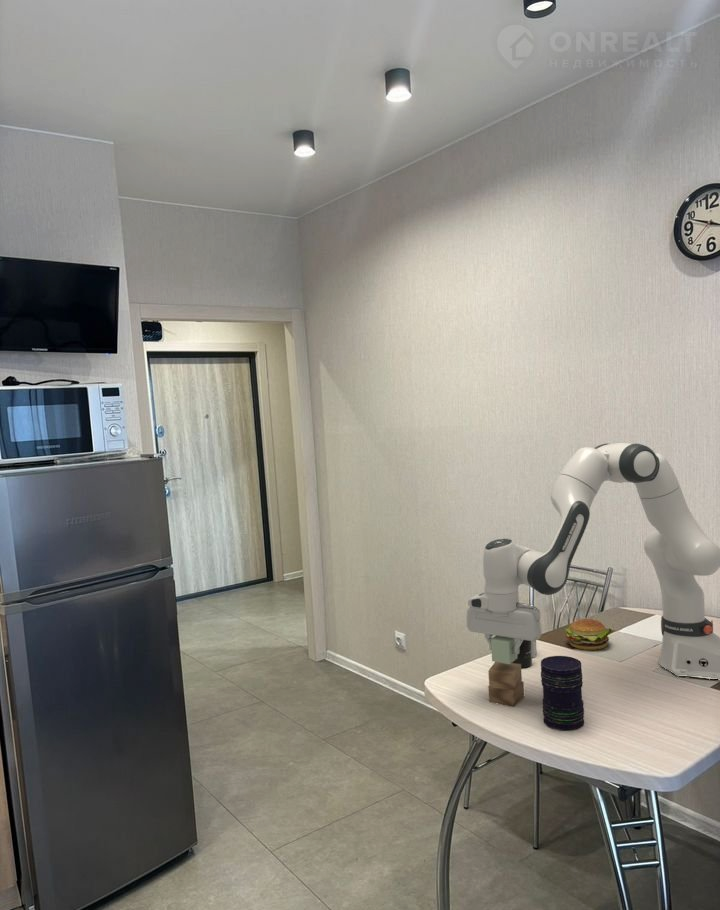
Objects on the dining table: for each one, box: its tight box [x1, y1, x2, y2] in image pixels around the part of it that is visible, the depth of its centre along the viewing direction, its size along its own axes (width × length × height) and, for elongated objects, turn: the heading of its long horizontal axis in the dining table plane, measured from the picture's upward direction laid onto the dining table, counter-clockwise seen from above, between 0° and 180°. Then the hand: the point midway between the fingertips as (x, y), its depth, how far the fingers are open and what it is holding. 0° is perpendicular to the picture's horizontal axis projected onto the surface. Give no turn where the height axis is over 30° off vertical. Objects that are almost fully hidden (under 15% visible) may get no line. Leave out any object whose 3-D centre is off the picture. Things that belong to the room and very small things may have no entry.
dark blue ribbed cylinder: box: [540, 655, 585, 732], centre depth 172 cm, size 10×10×15 cm
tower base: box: [488, 680, 525, 708], centre depth 187 cm, size 7×7×4 cm
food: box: [564, 618, 612, 651], centre depth 224 cm, size 14×14×8 cm
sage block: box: [491, 635, 517, 664], centre depth 186 cm, size 5×5×6 cm
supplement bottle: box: [512, 640, 533, 669], centre depth 211 cm, size 7×7×12 cm
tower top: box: [487, 662, 523, 690], centre depth 187 cm, size 7×7×4 cm
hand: (504, 651), depth 186 cm, fingers closed on sage block, 5 cm apart
